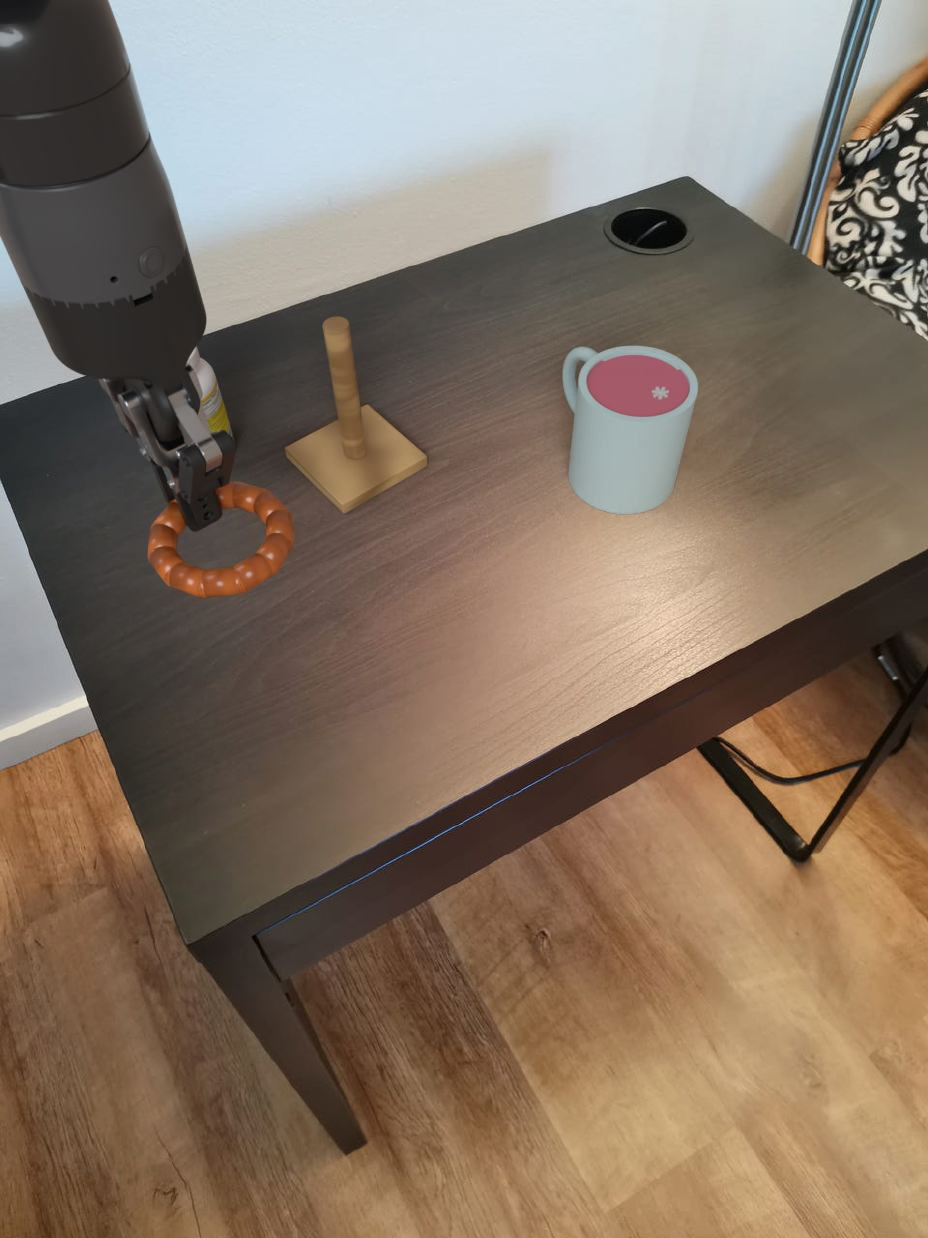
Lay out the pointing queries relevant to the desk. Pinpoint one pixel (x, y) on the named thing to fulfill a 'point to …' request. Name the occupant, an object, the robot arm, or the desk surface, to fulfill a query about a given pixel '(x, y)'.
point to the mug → (627, 425)
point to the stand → (352, 437)
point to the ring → (226, 578)
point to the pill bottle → (210, 394)
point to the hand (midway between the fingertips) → (195, 510)
